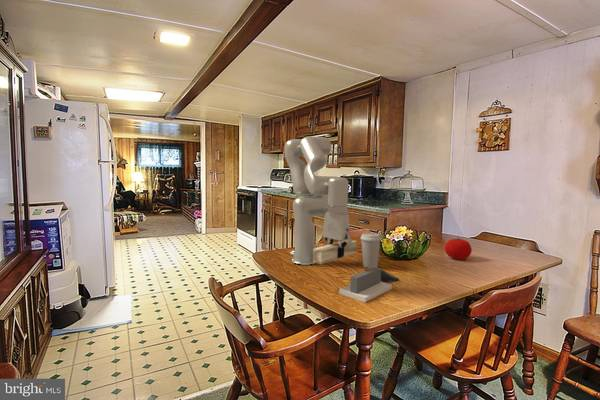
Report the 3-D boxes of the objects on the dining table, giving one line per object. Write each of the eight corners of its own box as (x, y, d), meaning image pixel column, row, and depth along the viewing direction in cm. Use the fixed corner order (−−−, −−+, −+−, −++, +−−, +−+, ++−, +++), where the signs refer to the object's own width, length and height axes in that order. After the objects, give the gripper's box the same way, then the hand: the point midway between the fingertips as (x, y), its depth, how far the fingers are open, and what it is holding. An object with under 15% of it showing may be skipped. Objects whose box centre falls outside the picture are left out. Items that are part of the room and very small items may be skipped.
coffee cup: (381, 269, 142) (382, 236, 141) (359, 268, 144) (360, 235, 143) (380, 263, 152) (381, 232, 150) (359, 262, 153) (360, 231, 152)
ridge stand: (339, 293, 114) (339, 274, 114) (366, 281, 127) (367, 264, 126) (365, 302, 107) (365, 282, 106) (391, 288, 119) (392, 270, 119)
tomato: (475, 260, 158) (477, 239, 158) (457, 262, 154) (458, 241, 153) (457, 255, 169) (458, 235, 168) (439, 257, 164) (440, 237, 163)
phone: (379, 268, 142) (399, 279, 128) (379, 270, 142) (399, 281, 128) (363, 270, 140) (382, 281, 125) (363, 272, 140) (382, 283, 125)
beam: (313, 261, 119) (313, 248, 118) (348, 250, 134) (348, 239, 134) (321, 264, 116) (321, 251, 115) (356, 252, 131) (356, 241, 131)
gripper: (314, 208, 126) (313, 253, 128) (349, 213, 114) (347, 262, 116) (326, 206, 131) (325, 249, 133) (361, 211, 120) (359, 258, 122)
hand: (335, 255), depth 125 cm, fingers closed on beam, 4 cm apart
